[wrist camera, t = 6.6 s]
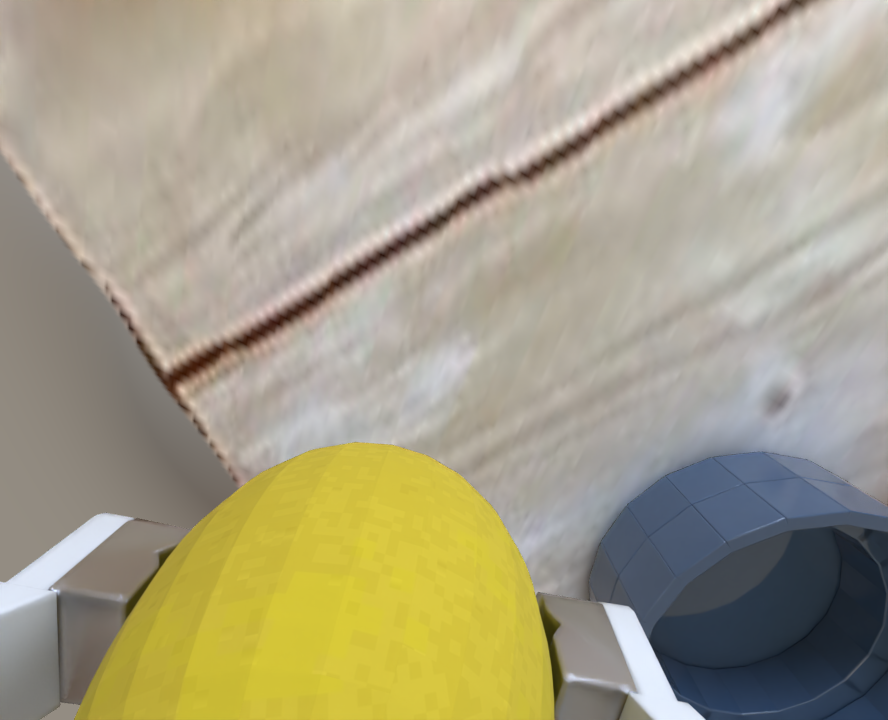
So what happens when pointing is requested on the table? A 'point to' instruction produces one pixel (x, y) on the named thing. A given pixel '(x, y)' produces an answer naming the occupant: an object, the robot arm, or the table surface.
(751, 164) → the table surface
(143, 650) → the lemon
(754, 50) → the table surface
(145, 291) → the table surface
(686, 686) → the bowl
